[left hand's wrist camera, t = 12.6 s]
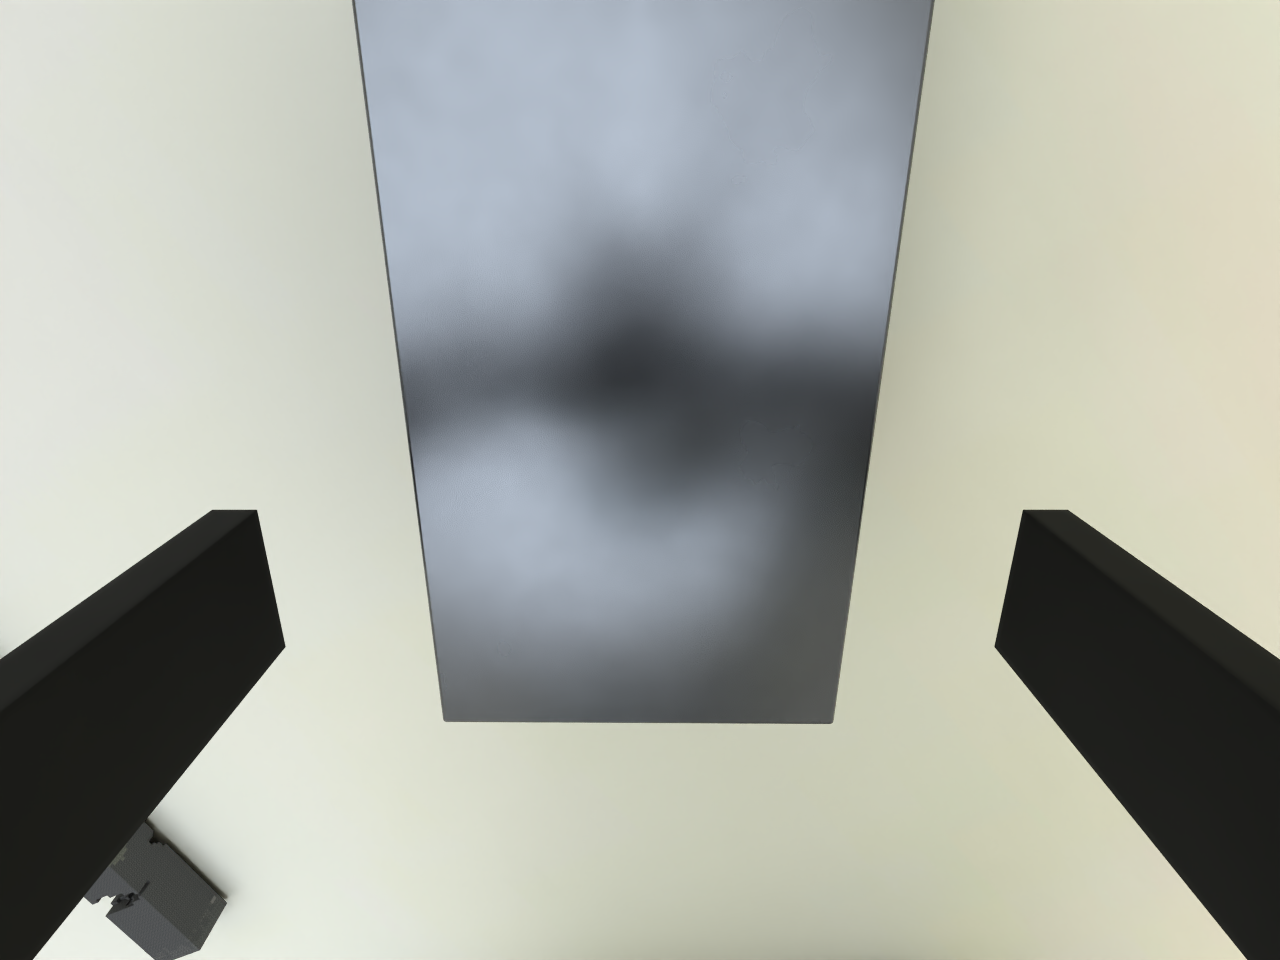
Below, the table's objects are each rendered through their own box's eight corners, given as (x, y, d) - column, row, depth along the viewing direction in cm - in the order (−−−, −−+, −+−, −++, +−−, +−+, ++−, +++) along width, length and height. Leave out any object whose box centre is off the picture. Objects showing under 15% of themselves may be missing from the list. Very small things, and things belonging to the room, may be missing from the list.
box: (751, 492, 25) (833, 724, 14) (527, 491, 25) (442, 723, 14) (830, -604, 15) (1288, -2489, 4) (461, -607, 15) (29, -2502, 4)
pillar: (160, 964, 31) (-237, 612, 24) (189, 917, 33) (-170, 579, 26) (199, 950, 31) (-192, 588, 24) (226, 902, 33) (-127, 556, 26)
